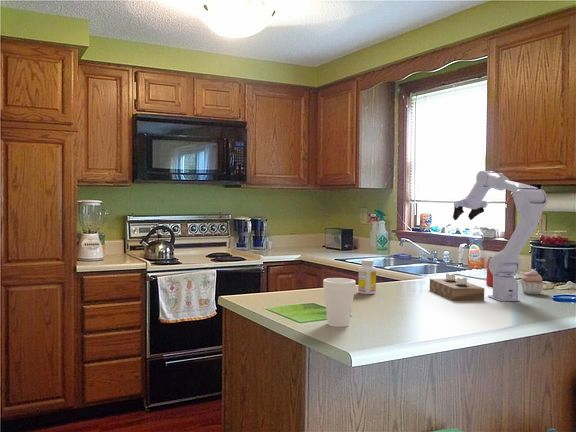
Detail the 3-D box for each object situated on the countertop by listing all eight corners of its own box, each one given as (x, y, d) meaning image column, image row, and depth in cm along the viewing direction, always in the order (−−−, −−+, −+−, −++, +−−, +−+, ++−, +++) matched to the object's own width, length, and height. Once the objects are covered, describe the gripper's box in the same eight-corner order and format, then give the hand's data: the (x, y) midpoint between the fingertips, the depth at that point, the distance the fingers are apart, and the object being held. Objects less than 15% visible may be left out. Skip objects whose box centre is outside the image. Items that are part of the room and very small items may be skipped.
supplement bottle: (375, 291, 219) (375, 259, 219) (376, 295, 213) (376, 261, 212) (357, 291, 220) (358, 258, 219) (358, 294, 213) (359, 260, 213)
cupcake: (521, 290, 229) (522, 266, 229) (546, 293, 224) (547, 268, 224) (516, 293, 222) (517, 268, 221) (541, 296, 217) (542, 271, 216)
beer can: (504, 287, 237) (506, 259, 236) (489, 287, 237) (490, 258, 236) (499, 284, 243) (500, 257, 243) (484, 284, 243) (485, 256, 243)
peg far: (456, 284, 220) (456, 274, 219) (447, 284, 219) (448, 274, 219) (452, 283, 223) (452, 273, 223) (444, 283, 222) (444, 273, 222)
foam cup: (352, 320, 169) (353, 278, 169) (356, 328, 160) (358, 283, 159) (320, 320, 169) (321, 277, 168) (323, 328, 160) (324, 282, 159)
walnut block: (484, 300, 206) (484, 288, 206) (453, 300, 204) (453, 288, 204) (457, 289, 228) (457, 278, 228) (429, 289, 226) (429, 278, 226)
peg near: (468, 289, 210) (468, 278, 209) (459, 289, 209) (459, 278, 209) (463, 287, 213) (464, 276, 213) (455, 287, 213) (455, 277, 212)
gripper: (487, 188, 231) (472, 211, 240) (457, 188, 226) (443, 211, 235) (495, 200, 226) (479, 223, 235) (464, 200, 222) (450, 223, 231)
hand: (462, 218), depth 235 cm, fingers open, 7 cm apart
